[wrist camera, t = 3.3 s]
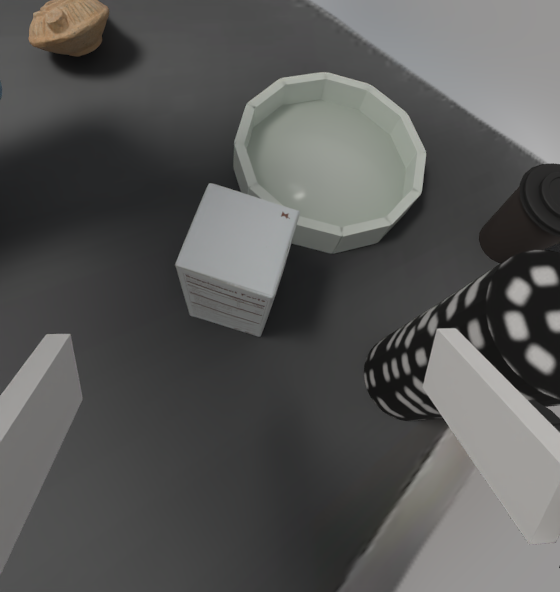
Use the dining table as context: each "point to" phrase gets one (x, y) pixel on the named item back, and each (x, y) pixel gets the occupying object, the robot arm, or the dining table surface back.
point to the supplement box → (235, 258)
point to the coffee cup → (526, 216)
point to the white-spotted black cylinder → (479, 336)
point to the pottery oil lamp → (69, 26)
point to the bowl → (330, 158)
